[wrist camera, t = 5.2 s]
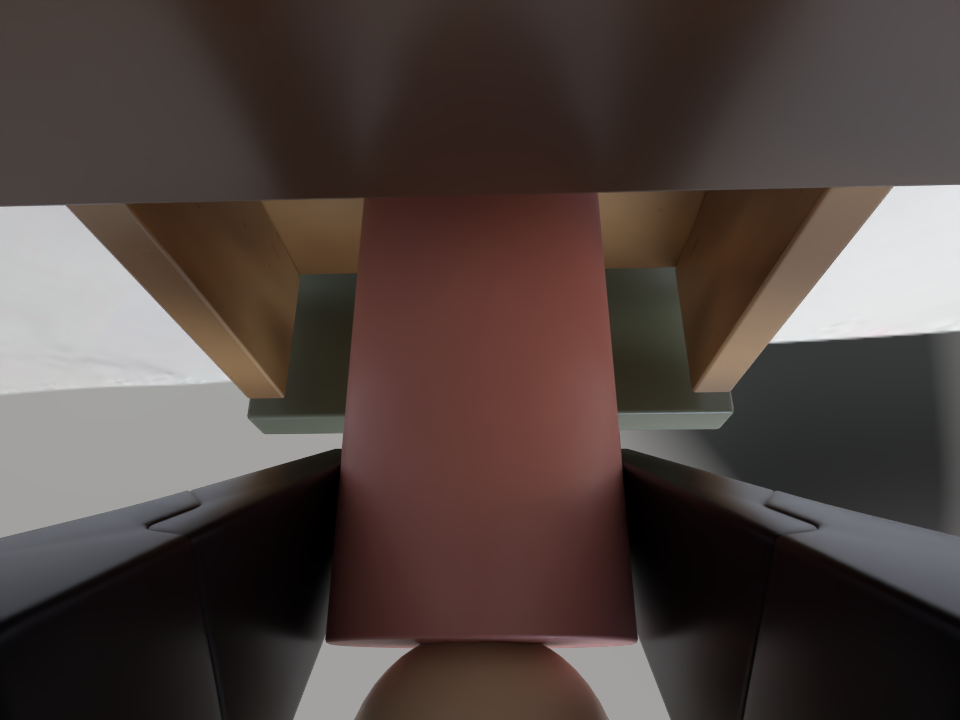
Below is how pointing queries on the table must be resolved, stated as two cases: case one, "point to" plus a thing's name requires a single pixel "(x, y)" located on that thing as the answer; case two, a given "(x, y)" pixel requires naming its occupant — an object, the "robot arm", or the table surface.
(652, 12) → the organizer
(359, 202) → the drawer
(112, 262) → the table surface
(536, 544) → the doll
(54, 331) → the table surface
